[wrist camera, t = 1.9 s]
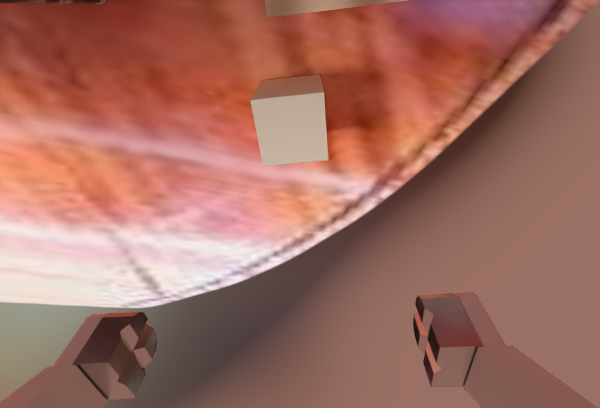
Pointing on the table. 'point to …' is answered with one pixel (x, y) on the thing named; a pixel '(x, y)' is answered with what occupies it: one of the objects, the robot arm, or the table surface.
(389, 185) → the table surface
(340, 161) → the table surface
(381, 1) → the tower base
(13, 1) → the coffee box
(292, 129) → the cream block
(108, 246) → the table surface
